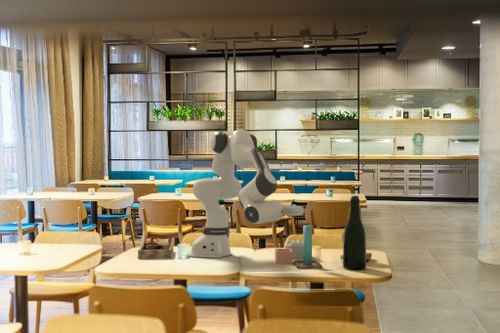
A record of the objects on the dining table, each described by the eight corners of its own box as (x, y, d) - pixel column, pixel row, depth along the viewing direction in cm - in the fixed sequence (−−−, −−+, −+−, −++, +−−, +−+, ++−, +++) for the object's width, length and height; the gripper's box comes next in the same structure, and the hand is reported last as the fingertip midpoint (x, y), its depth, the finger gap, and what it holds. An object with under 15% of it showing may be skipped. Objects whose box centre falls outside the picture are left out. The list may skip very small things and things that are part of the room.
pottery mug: (138, 259, 307) (138, 243, 310) (147, 264, 315) (147, 248, 318) (160, 253, 304) (160, 238, 307) (169, 259, 312) (168, 243, 316)
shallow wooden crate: (138, 258, 305) (138, 250, 305) (142, 252, 323) (142, 244, 323) (170, 258, 306) (170, 250, 306) (173, 251, 324) (173, 244, 324)
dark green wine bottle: (338, 267, 284) (338, 195, 283) (357, 265, 288) (358, 194, 287) (351, 271, 275) (351, 197, 273) (370, 269, 279) (371, 196, 278)
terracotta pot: (276, 265, 288) (276, 251, 288) (274, 262, 295) (274, 248, 295) (292, 265, 288) (292, 251, 288) (290, 262, 296) (290, 248, 296)
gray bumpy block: (285, 260, 301) (285, 242, 300) (286, 255, 313) (286, 238, 313) (306, 260, 300) (307, 242, 299) (306, 255, 313) (306, 238, 312)
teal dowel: (303, 266, 281) (303, 226, 281) (302, 264, 285) (302, 225, 285) (312, 266, 281) (312, 226, 281) (311, 264, 285) (311, 225, 285)
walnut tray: (297, 270, 276) (297, 266, 276) (293, 264, 290) (293, 260, 290) (322, 270, 277) (322, 265, 277) (317, 264, 291) (317, 260, 291)
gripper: (293, 205, 259) (310, 202, 270) (254, 201, 271) (272, 199, 282) (293, 220, 259) (310, 216, 270) (254, 216, 271) (272, 212, 282)
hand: (290, 207), depth 276 cm, fingers open, 8 cm apart
